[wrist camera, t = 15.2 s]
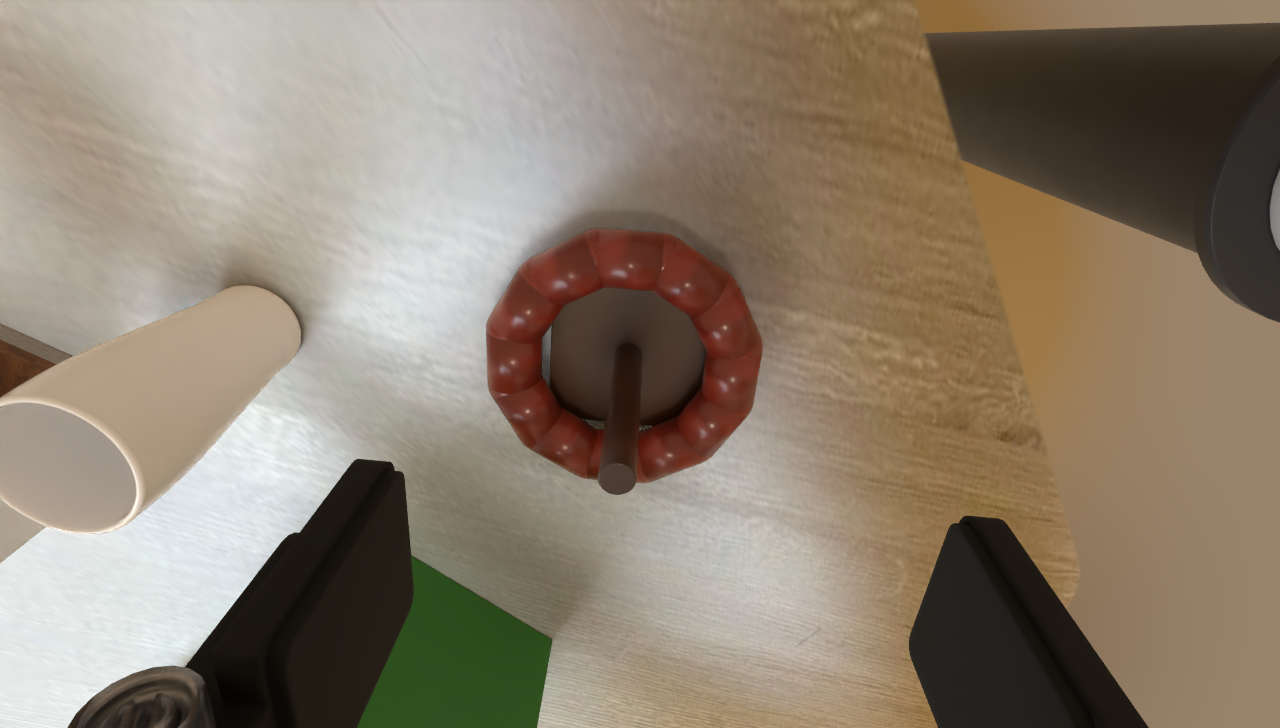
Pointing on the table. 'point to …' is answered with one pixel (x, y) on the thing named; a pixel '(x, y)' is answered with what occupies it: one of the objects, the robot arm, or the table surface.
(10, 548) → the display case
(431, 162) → the table surface
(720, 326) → the ring
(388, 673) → the hardback book
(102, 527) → the drinking glass
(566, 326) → the peg stand
